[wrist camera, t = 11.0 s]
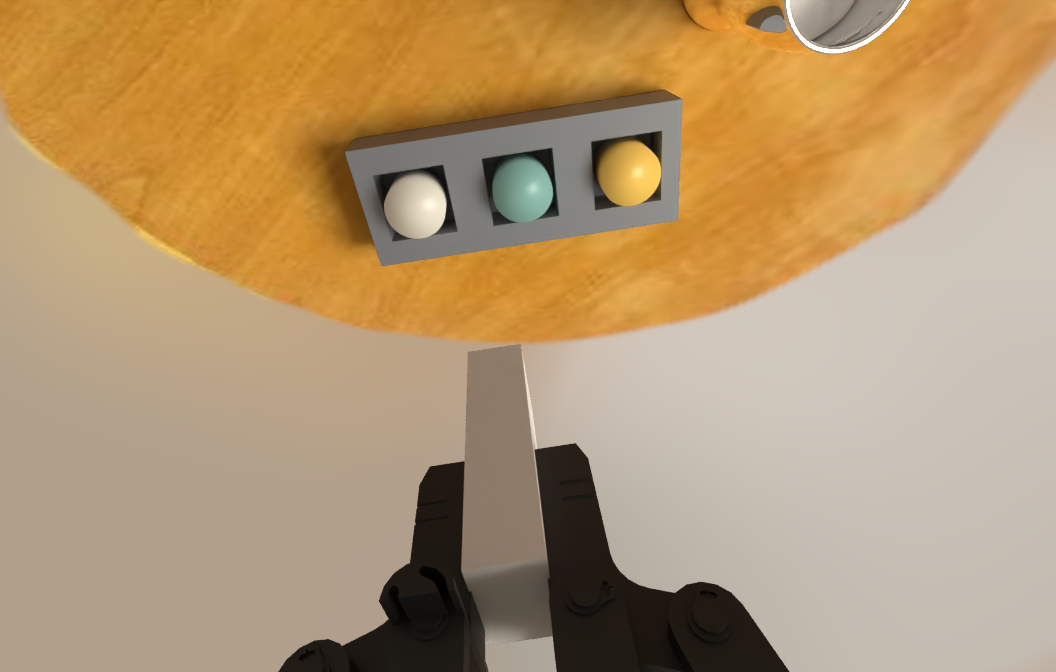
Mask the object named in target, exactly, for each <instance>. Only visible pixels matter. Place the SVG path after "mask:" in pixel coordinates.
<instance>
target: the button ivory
mask: <svg viewBox="0 0 1056 672" xmlns="http://www.w3.org/2000/svg"><path fill="white" fill-rule="evenodd" d="M447 199H448V195H447V190H446V187H445V185H444V183H443V181H442V180H441V179H440V178H439V177H438V176H437V175H436V174H435V173H434V172H432V171H430V170H428V169H425V168H419V169H412V170H406V171H402V172H401V173H399V174H398V175H397V176H396V178H395V179H394V181H393V183H392V185H391V187H390V189H389V191H388V194H387V196H386V199H385V203H384V212H385V216H386V218H387V220H388V222H389V224H390V225H391V226H392V228H393V229H394V230H396V231H397V232H398V233H400V234H401V235H403V236H406V237H409V238H414V239H420V238H426V237H429V236H431V235H433V234H434V233H436V232H437V231H438V230H439V229H440V227H441V226H442V224H443V222H444V219H445V213H446V207H447Z"/></svg>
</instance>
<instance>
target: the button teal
mask: <svg viewBox="0 0 1056 672" xmlns="http://www.w3.org/2000/svg"><path fill="white" fill-rule="evenodd" d="M492 190H493V200H494V203H495V206H496V208H497V209H498V211H499V212H500V213H501V214H502V215H503V216H504V217H506V218H507V219H509V220H511V221H515V222H530V221H533V220H535V219H537V218H539V217H540V216H542V215H543V214H544V213H545V212H546V211H547V209H548V208H549V206H550V204H551V201H552V197H553V188H552V184H551V181H550V178H549V175H548V173H547V170H546V168H545V165H544V164H543V162H542V161H541V160H540V159H539V158H538V157H537V156H535V155H533V154H531V153H529V152H521V153H515V154H509V155H505V156H504V157H502V158H501V159H500V160H499V161H498V163H497V164H496V166H495V168H494V170H493V174H492Z"/></svg>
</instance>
